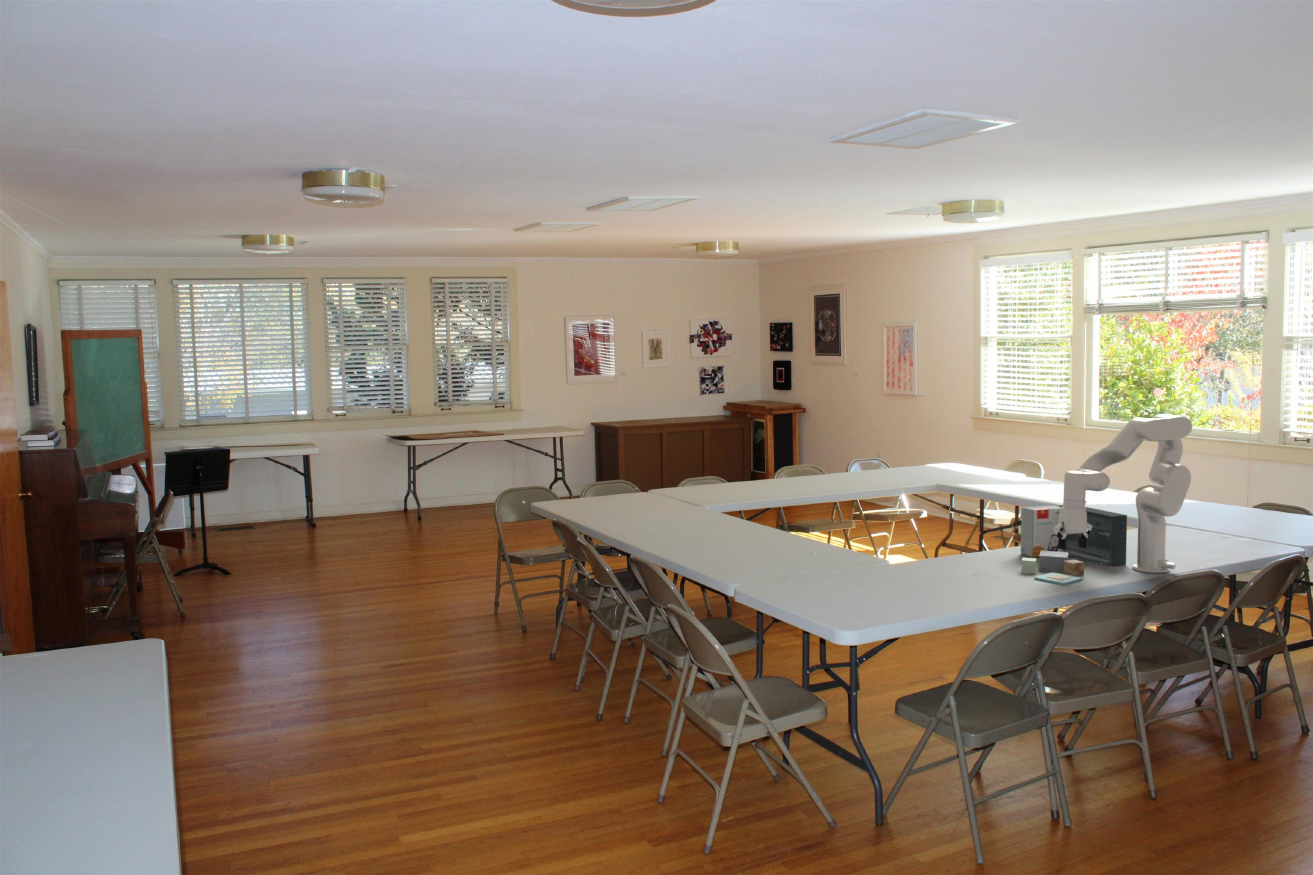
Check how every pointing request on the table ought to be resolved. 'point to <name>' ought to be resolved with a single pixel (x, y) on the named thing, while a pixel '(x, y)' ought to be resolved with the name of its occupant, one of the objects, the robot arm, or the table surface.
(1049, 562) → the plinth
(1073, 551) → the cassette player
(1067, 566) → the walnut cube
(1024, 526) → the hard drive box
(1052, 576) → the board
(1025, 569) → the sage cube
